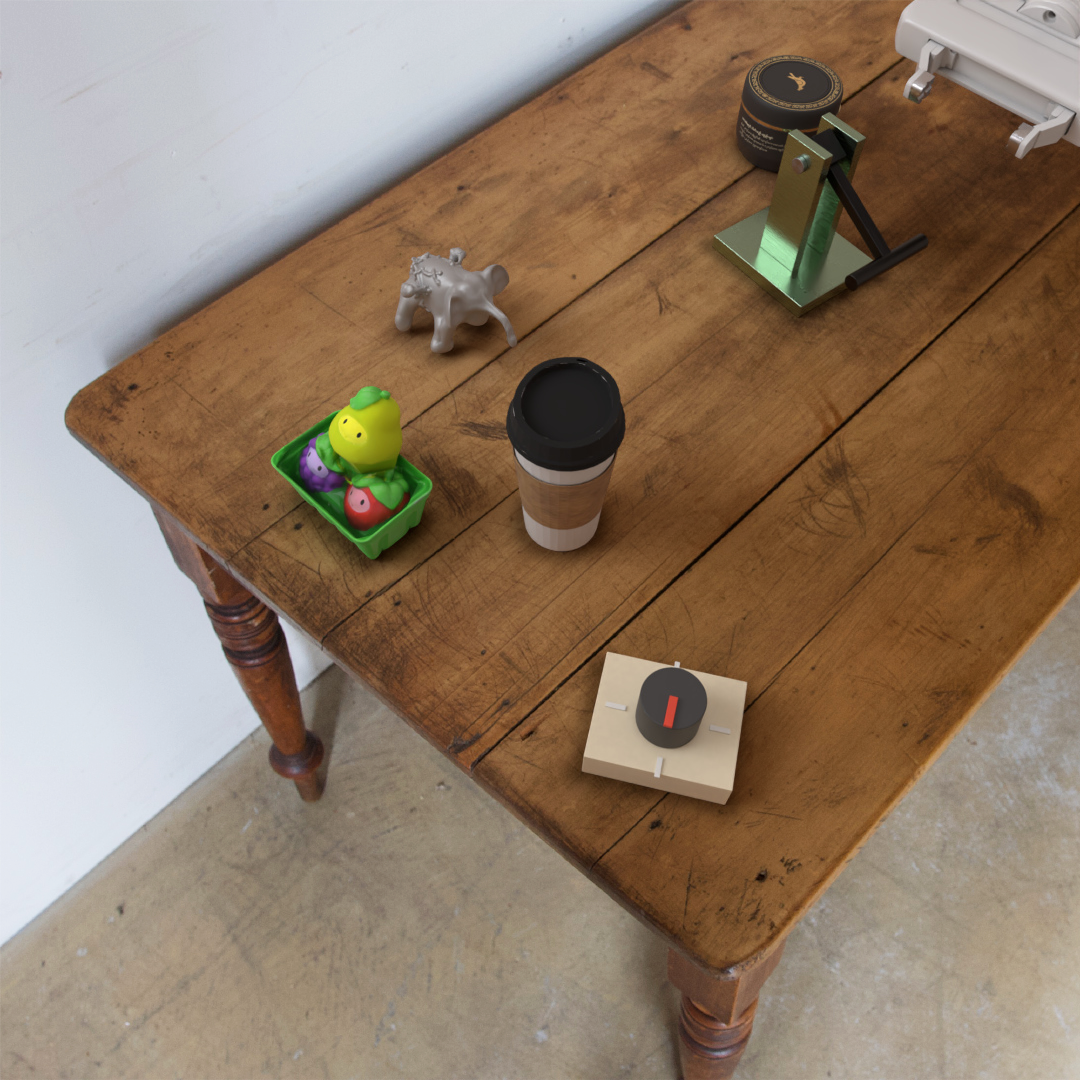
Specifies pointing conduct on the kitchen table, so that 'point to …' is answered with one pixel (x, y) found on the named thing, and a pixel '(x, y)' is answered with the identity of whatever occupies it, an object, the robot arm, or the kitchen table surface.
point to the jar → (784, 105)
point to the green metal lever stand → (800, 226)
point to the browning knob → (670, 707)
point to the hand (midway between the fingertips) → (961, 120)
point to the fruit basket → (358, 472)
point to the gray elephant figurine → (451, 296)
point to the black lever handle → (864, 221)
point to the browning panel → (678, 770)
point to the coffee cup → (564, 448)
